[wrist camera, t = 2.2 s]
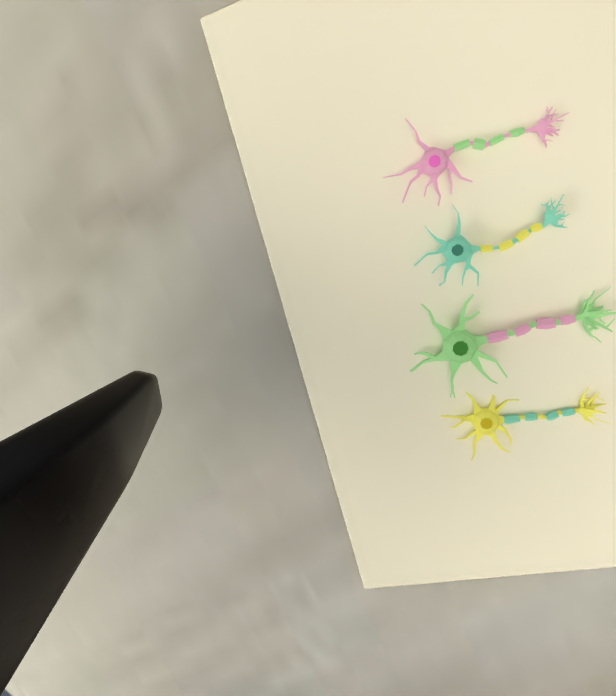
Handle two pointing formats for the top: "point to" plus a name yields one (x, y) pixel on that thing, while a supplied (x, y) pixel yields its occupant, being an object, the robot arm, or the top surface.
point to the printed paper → (443, 265)
